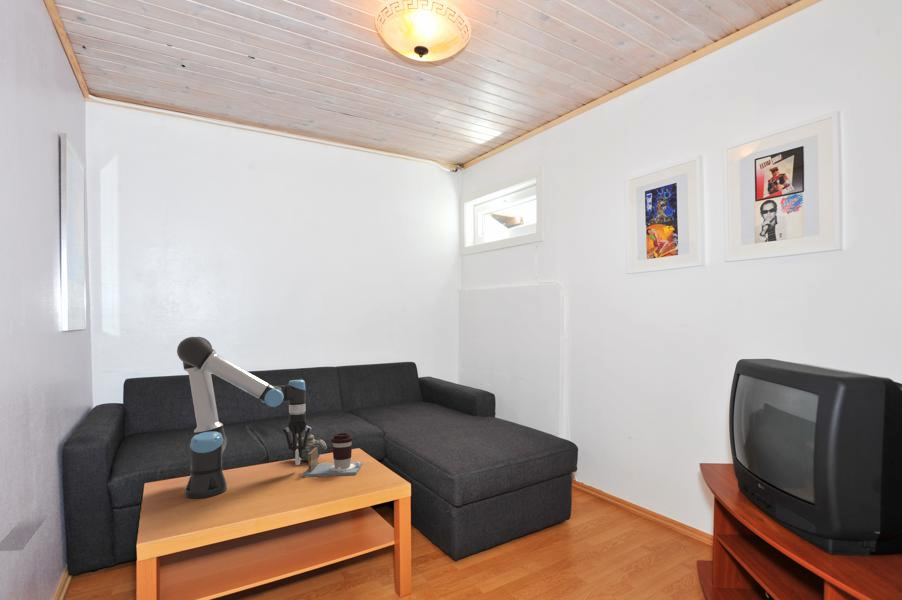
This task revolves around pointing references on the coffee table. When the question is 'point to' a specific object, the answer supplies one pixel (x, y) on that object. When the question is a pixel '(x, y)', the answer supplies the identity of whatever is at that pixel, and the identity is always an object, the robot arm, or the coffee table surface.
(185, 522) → the coffee table surface
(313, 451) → the panel
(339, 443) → the coffee cup
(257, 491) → the coffee table surface
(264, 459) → the coffee table surface
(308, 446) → the teapot
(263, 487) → the coffee table surface
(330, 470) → the grey flat slab
